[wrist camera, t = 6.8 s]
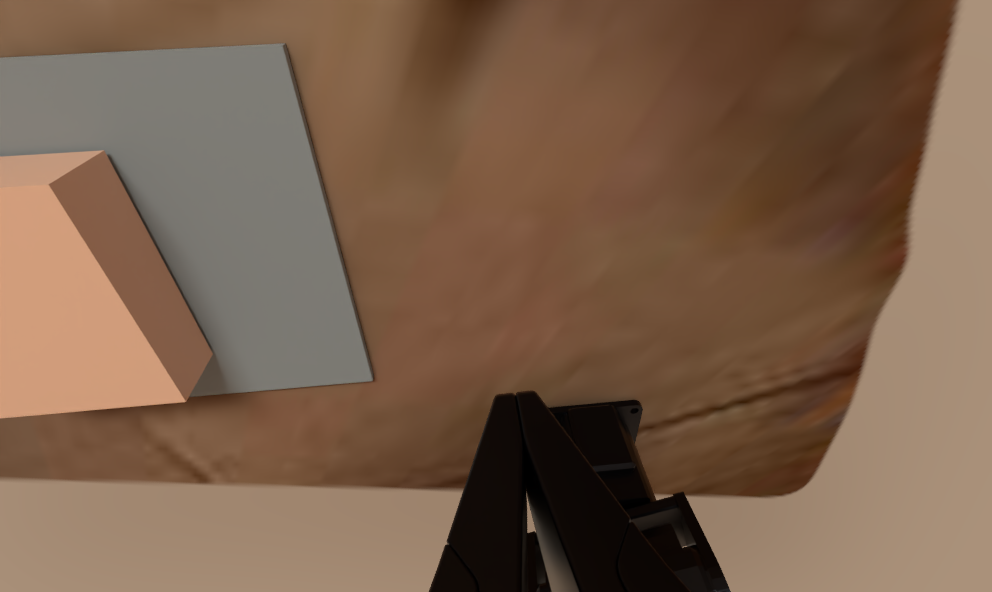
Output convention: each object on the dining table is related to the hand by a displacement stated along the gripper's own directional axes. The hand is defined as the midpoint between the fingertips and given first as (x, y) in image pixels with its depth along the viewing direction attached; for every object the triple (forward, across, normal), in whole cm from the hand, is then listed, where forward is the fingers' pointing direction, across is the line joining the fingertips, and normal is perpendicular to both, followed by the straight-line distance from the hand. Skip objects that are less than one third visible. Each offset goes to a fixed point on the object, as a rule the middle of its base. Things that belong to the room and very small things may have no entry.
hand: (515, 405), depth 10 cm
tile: (+10, +14, +2) cm, 17 cm away
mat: (+12, +16, +2) cm, 20 cm away
